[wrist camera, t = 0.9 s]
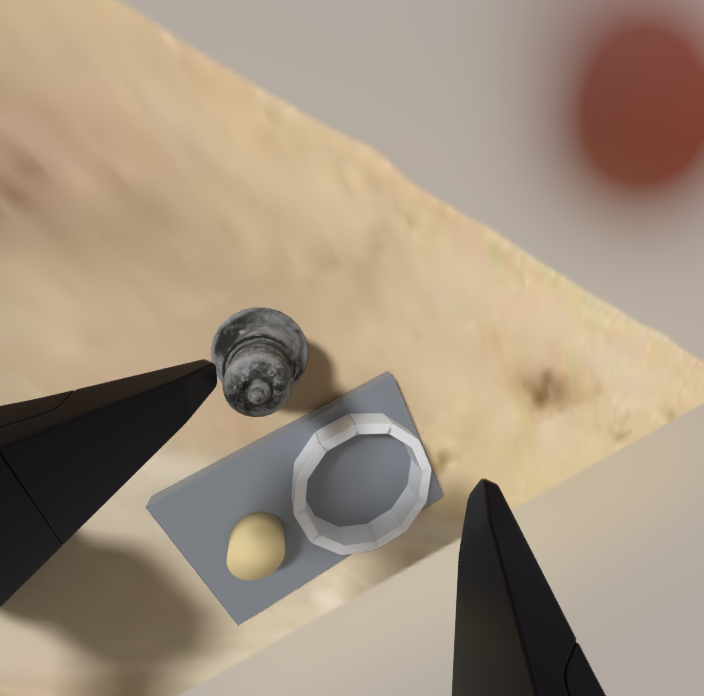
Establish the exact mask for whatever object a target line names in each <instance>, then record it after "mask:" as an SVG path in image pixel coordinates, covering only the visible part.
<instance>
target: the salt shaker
mask: <svg viewBox="0 0 704 696" xmlns="http://www.w3.org/2000/svg"><path fill="white" fill-rule="evenodd" d="M307 361H308V346H307V342H306V338H305V336H304V334H303V332H302V330H301V329H300V327H299V326H298V325H297V324H296V323H295V322H294V321H293V320H292V319H291V318H290V317H289V316H287V315H285V314H283V313H282V312H280V311H277V310H273V309H270V308H250V309H246V310H242V311H240V312H238V313H236V314H234V315H232V316H230V317H229V318H228V319H227V320H226V321H225V322H224V323H223V324H222V325H221V326H220V327H219V329H218V331H217V332H216V334H215V336H214V338H213V342H212V346H211V362H212V363H214V364H215V365H216V370H217V376H218V378H219V379H220V380H221V382H222V383H223V392H224V395H225V398H226V401H227V402H228V403H229V405H230V406H231V407H232V408H233V409H234V410H236V411H237V412H238V413H241V414H243V415H245V416H251V417H262V416H267V415H270V414H272V413H274V412H276V411H278V410H279V409H280V408H281V407H282V406H283V405H284V404H285V403H286V402H287V400H288V399H289V397H290V395H291V392H292V388H293V386H294V385H295V384H296V383H297V382H298V381H299V379H300V378H301V376H302V374H303V373H304V371H305V368H306V365H307Z"/></svg>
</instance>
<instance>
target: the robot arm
mask: <svg viewBox="0 0 704 696" xmlns="http://www.w3.org/2000/svg"><path fill="white" fill-rule="evenodd" d="M216 385H217V370H216V365H215V364H214V363H212V362H210V361H208V360H204V359H203V360H198V361H194V362H190V363H186V364H182V365H177V366H173V367H169V368H165V369H161V370H156V371H152V372H148V373H144V374H140V375H135V376H131V377H127V378H123V379H119V380H114V381H110V382H106V383H102V384H98V385H93V386H89V387H85V388H81V389H77V390H75V391H73V390H72V391H68V392H64V393H60V394H55V395H51V396H47V397H42V398H38V399H33V400H28V401H23V402H18V403H13V404H8V405H3V406H0V607H1V606H2V605H3V604H4V603H5V602H6V601H7V600H8V599H9V598H10V597H11V596H12V595H13V594H14V593H15V592H16V591H17V590H18V589H19V588H20V587H21V586H22V585H23V584H24V583H25V582H26V581H27V580H28V579H29V578H30V577H31V576H32V575H33V574H34V573H35V572H36V571H37V570H38V569H39V568H40V567H41V566H42V565H43V564H44V563H45V562H46V561H47V560H48V559H49V558H50V557H51V556H52V555H53V554H54V553H55V552H57V551H58V550H59V549H60V548H61V547H62V545H63V544H64V543H65V542H66V541H67V540H68V539H69V538H70V537H71V536H72V535H73V534H74V533H75V532H76V531H77V530H78V529H79V528H80V527H81V526H82V525H83V524H84V523H86V522H87V521H88V520H89V519H90V518H91V517H92V516H93V515H94V514H95V513H96V512H97V511H98V510H99V509H100V508H101V507H102V506H103V505H104V504H105V503H106V502H107V501H108V500H109V499H110V498H111V497H112V496H113V495H114V494H115V493H116V492H117V491H118V490H119V489H120V488H121V487H122V486H123V485H124V484H125V483H126V482H127V481H128V480H129V479H130V478H131V477H132V476H133V475H134V474H135V473H136V472H137V471H138V470H139V469H140V468H141V467H142V466H143V465H144V464H145V463H146V462H147V461H148V460H149V459H150V458H151V457H152V456H153V455H154V454H155V453H156V452H157V451H158V450H159V449H160V448H161V447H162V446H163V445H164V444H165V443H166V442H167V441H168V440H169V439H170V438H171V437H172V436H173V435H174V434H175V433H176V432H177V431H178V430H179V429H180V428H181V427H182V426H183V425H184V424H185V423H186V422H187V421H188V420H189V419H190V418H191V416H192V415H193V414H194V413H195V412H196V410H197V409H198V408H199V407H200V405H201V404H202V403H203V402H204V401H205V399H206V398H207V397H208V396H209V395H210V393H211V392H212V391H213V390H214V388H215V387H216ZM453 662H454V663H453V681H452V696H606V695H605V693H604V691H603V689H602V688H601V685H600V684H599V682H598V680H597V678H596V676H595V674H594V672H593V670H592V669H591V666H590V665H589V663H588V661H587V659H586V657H585V655H584V653H583V651H582V649H581V647H580V645H579V644H578V643H577V642H576V637H575V635H574V633H573V631H572V630H571V627H570V626H569V624H568V622H567V620H566V618H565V616H564V614H563V612H562V610H561V608H560V606H559V604H558V602H557V600H556V598H555V596H554V594H553V592H552V590H551V588H550V586H549V584H548V582H547V580H546V578H545V576H544V574H543V573H542V570H541V568H540V567H539V565H538V563H537V561H536V559H535V557H534V555H533V553H532V551H531V549H530V547H529V545H528V543H527V541H526V539H525V537H524V535H523V533H522V531H521V529H520V527H519V525H518V523H517V521H516V519H515V518H514V515H513V514H512V511H511V509H510V508H509V506H508V504H507V502H506V500H505V498H504V496H503V494H502V492H501V490H500V488H499V486H498V485H497V484H496V483H494V482H491V481H489V480H487V479H481V480H480V481H479V482H478V484H477V485H476V487H475V488H474V489H473V491H472V492H471V494H470V495H469V498H468V502H467V508H466V514H465V520H464V526H463V532H462V538H461V544H460V552H459V561H458V581H457V600H456V620H455V641H454V661H453Z"/></svg>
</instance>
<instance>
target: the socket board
mask: <svg viewBox="0 0 704 696" xmlns="http://www.w3.org/2000/svg"><path fill="white" fill-rule="evenodd" d="M442 497H443V494H442V491H441V489H440V486H439V484H438V482H437V479H436V477H435V474H434V472H433V470H432V467H431V465H430V462H429V460H428V457H427V455H426V453H425V450H424V448H423V445H422V443H421V441H420V438H419V436H418V433H417V431H416V429H415V426H414V424H413V421H412V419H411V417H410V414H409V412H408V409H407V407H406V405H405V402H404V400H403V397H402V395H401V393H400V390H399V388H398V385H397V383H396V381H395V378H394V376H393V375H392V374H391V373H389V372H388V371H387V372H385V373H383V374H382V375H380V376H378V377H376V378H374V379H372V380H370V381H368V382H367V383H365V384H363V385H361V386H359V387H357V388H355V389H353V390H351V391H350V392H348V393H346V394H344V395H342V396H340V397H338V398H336V399H334V400H333V401H331V402H329V403H327V404H325V405H323V406H321V407H319V408H317V409H316V410H314V411H312V412H310V413H308V414H306V415H304V416H302V417H300V418H299V419H297V420H295V421H293V422H291V423H289V424H287V425H285V426H283V427H282V428H280V429H278V430H276V431H274V432H272V433H270V434H268V435H266V436H265V437H263V438H261V439H259V440H257V441H255V442H253V443H251V444H249V445H248V446H246V447H244V448H242V449H240V450H238V451H236V452H234V453H232V454H231V455H229V456H227V457H225V458H223V459H221V460H219V461H217V462H215V463H214V464H212V465H210V466H208V467H206V468H204V469H202V470H200V471H198V472H197V473H195V474H193V475H191V476H189V477H187V478H185V479H183V480H181V481H180V482H178V483H176V484H174V485H172V486H170V487H168V488H166V489H164V490H163V491H161V492H159V493H157V494H155V495H153V496H152V497H151V499H150V500H149V502H148V504H147V506H146V508H147V510H148V511H149V512H150V513H151V515H152V516H153V517H154V519H155V520H156V521H157V522H158V524H159V525H160V526H161V528H162V529H163V530H164V531H165V533H166V534H167V535H168V537H169V538H170V539H171V540H172V542H173V543H174V544H175V546H176V547H177V548H178V549H179V551H180V552H181V553H182V554H183V556H184V557H185V558H186V560H187V561H188V562H189V563H190V565H191V566H192V567H193V569H194V570H195V571H196V572H197V574H198V575H199V576H200V578H201V579H202V580H203V581H204V583H205V584H206V585H207V587H208V588H209V589H210V590H211V592H212V593H213V594H214V595H215V597H216V598H217V599H218V601H219V602H220V603H221V604H222V606H223V607H224V608H225V610H226V611H227V612H228V613H229V615H230V616H231V617H232V619H233V620H234V621H235V622H236V624H237V625H240V624H242V623H243V622H245V621H246V620H248V619H250V618H251V617H253V616H254V615H256V614H258V613H259V612H261V611H262V610H264V609H265V608H267V607H269V606H270V605H272V604H273V603H275V602H277V601H278V600H280V599H281V598H283V597H285V596H286V595H288V594H289V593H291V592H292V591H294V590H296V589H297V588H299V587H300V586H302V585H304V584H305V583H307V582H308V581H310V580H312V579H313V578H315V577H316V576H318V575H319V574H321V573H323V572H324V571H326V570H327V569H329V568H331V567H332V566H334V565H335V564H337V563H338V562H340V561H342V560H343V559H345V558H346V557H348V556H350V555H351V554H353V553H360V552H367V551H375V550H377V549H379V548H381V547H382V546H384V545H385V544H387V543H388V542H390V541H392V540H393V539H395V538H396V537H398V536H399V535H401V534H402V533H404V532H406V530H408V528H409V527H410V525H411V524H412V522H413V521H414V519H415V518H416V516H417V515H418V514H419V512H420V511H421V510H423V509H424V508H426V507H427V506H429V505H431V504H432V503H434V502H435V501H437V500H439V499H440V498H442Z"/></svg>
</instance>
